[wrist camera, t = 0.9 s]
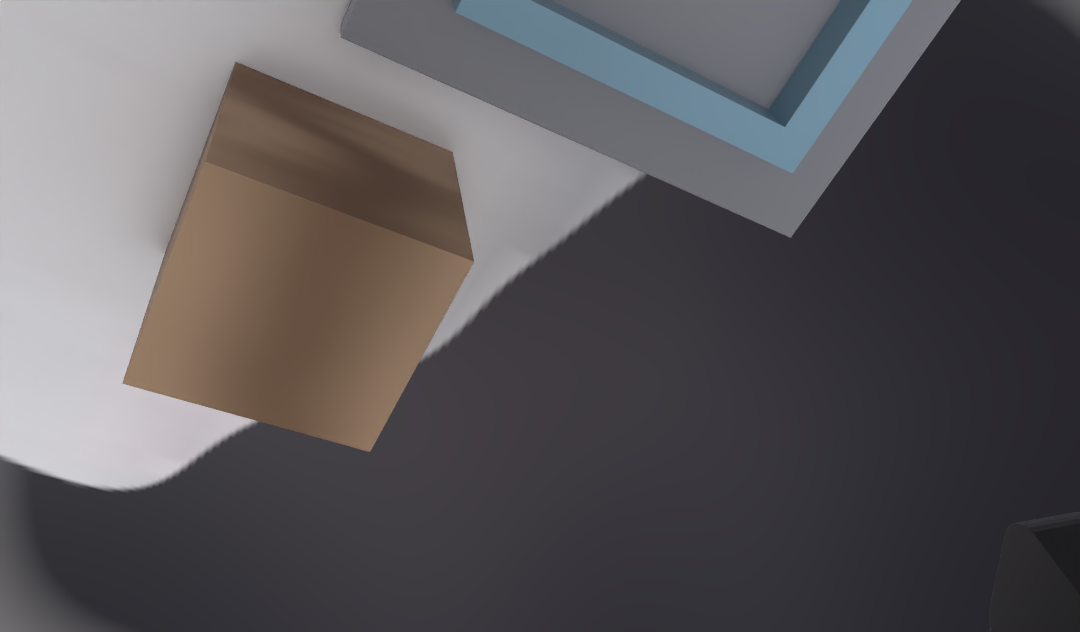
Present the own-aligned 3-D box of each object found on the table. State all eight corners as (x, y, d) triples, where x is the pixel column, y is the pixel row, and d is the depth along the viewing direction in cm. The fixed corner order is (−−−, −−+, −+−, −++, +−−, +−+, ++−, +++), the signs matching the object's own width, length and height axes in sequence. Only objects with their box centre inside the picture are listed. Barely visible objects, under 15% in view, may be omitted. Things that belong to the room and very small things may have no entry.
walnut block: (165, 252, 27) (122, 383, 22) (236, 60, 24) (205, 161, 19) (367, 318, 29) (369, 451, 24) (452, 150, 26) (473, 261, 22)
